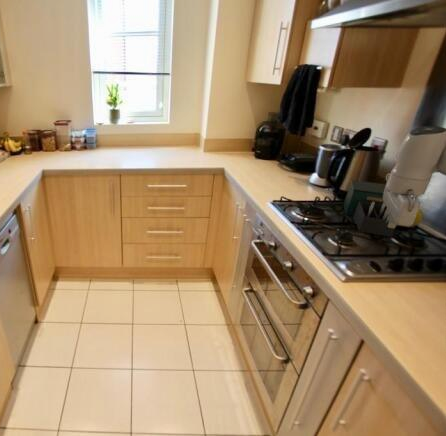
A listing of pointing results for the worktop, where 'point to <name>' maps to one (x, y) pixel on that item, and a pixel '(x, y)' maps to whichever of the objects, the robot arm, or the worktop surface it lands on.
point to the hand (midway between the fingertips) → (390, 226)
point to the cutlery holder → (372, 219)
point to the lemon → (418, 217)
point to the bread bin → (363, 195)
